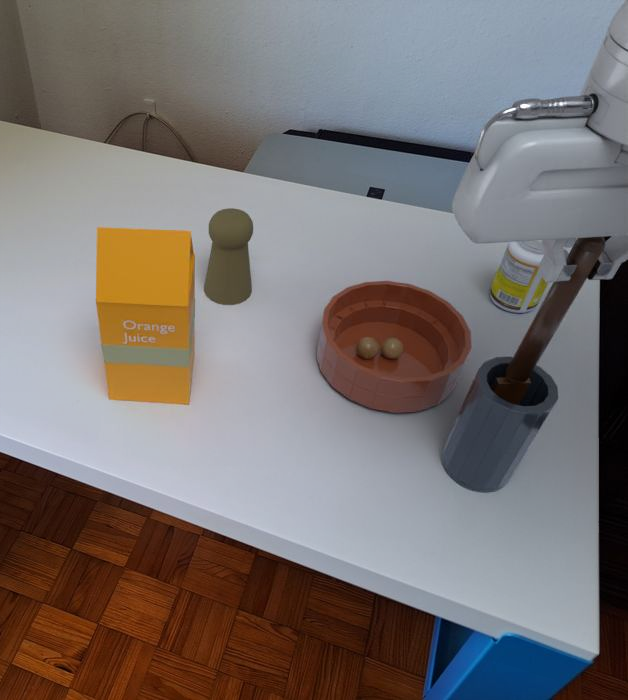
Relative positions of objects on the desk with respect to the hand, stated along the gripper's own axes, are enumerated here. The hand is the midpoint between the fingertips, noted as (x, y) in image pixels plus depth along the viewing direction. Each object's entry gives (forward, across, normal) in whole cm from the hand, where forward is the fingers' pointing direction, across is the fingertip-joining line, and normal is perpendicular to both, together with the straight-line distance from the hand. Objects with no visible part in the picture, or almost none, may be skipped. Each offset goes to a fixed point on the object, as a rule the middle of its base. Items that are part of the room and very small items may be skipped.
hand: (573, 275), depth 50 cm
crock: (+24, 0, 0) cm, 24 cm away
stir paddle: (+18, 0, +1) cm, 18 cm away
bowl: (+24, -5, +14) cm, 28 cm away
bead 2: (+22, -4, +14) cm, 27 cm away
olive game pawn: (+24, -21, +28) cm, 43 cm away
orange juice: (+24, -31, +14) cm, 42 cm away
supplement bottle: (+24, +13, +23) cm, 36 cm away
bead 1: (+22, -7, +15) cm, 28 cm away
